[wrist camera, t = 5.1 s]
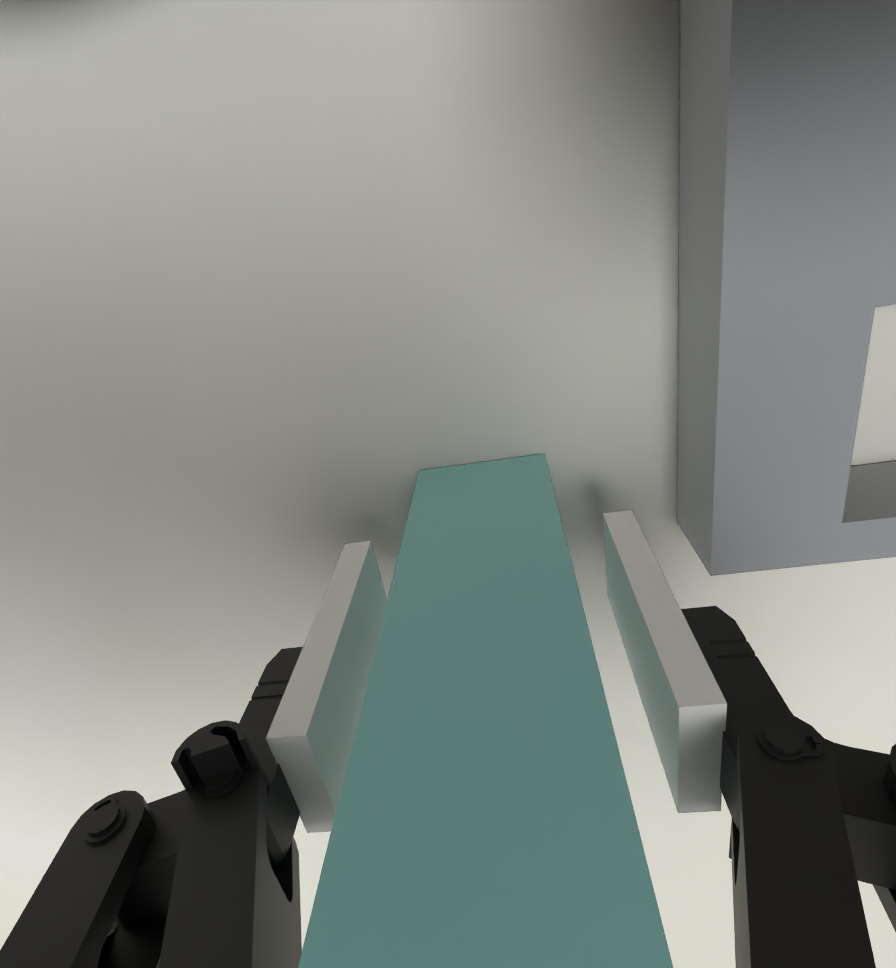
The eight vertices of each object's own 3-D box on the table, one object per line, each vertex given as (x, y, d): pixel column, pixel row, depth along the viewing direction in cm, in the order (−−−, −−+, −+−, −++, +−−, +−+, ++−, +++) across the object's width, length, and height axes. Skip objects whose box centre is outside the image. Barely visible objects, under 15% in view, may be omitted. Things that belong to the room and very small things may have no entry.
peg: (440, 572, 20) (367, 1211, 7) (418, 470, 18) (272, 1074, 5) (555, 560, 19) (691, 1222, 7) (544, 453, 18) (700, 1074, 5)
